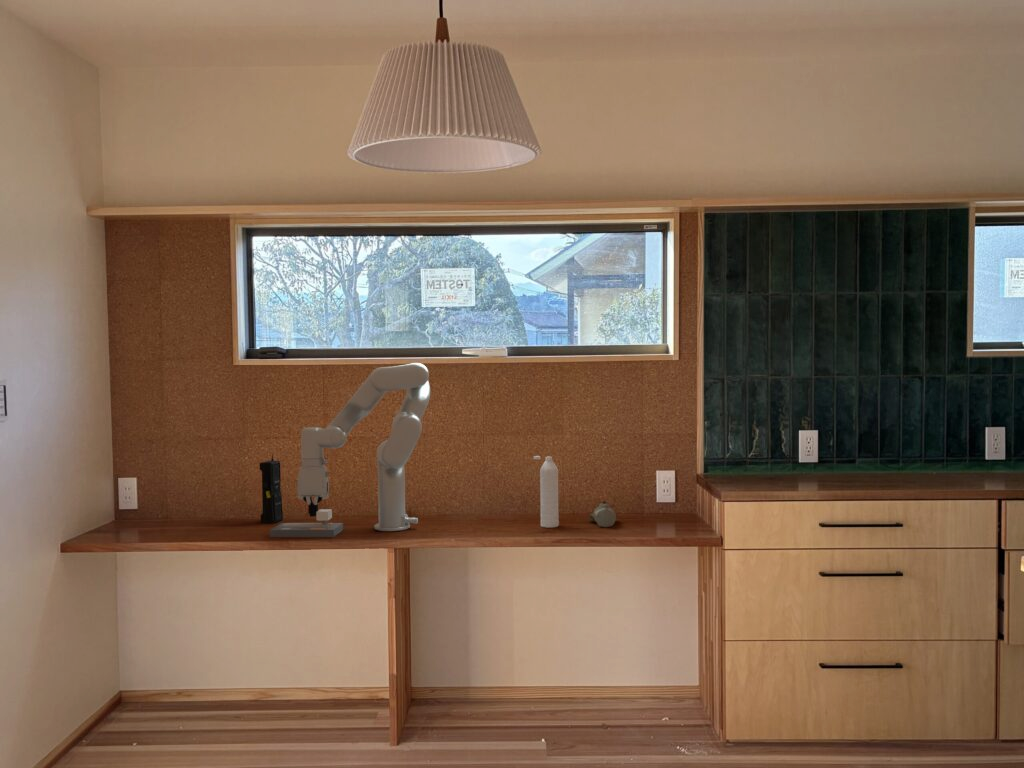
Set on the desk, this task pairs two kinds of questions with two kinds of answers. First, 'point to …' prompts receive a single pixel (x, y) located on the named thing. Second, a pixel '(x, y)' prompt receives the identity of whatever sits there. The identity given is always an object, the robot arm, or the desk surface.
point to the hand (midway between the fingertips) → (313, 515)
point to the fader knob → (324, 515)
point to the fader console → (306, 530)
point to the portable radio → (271, 492)
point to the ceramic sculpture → (603, 515)
